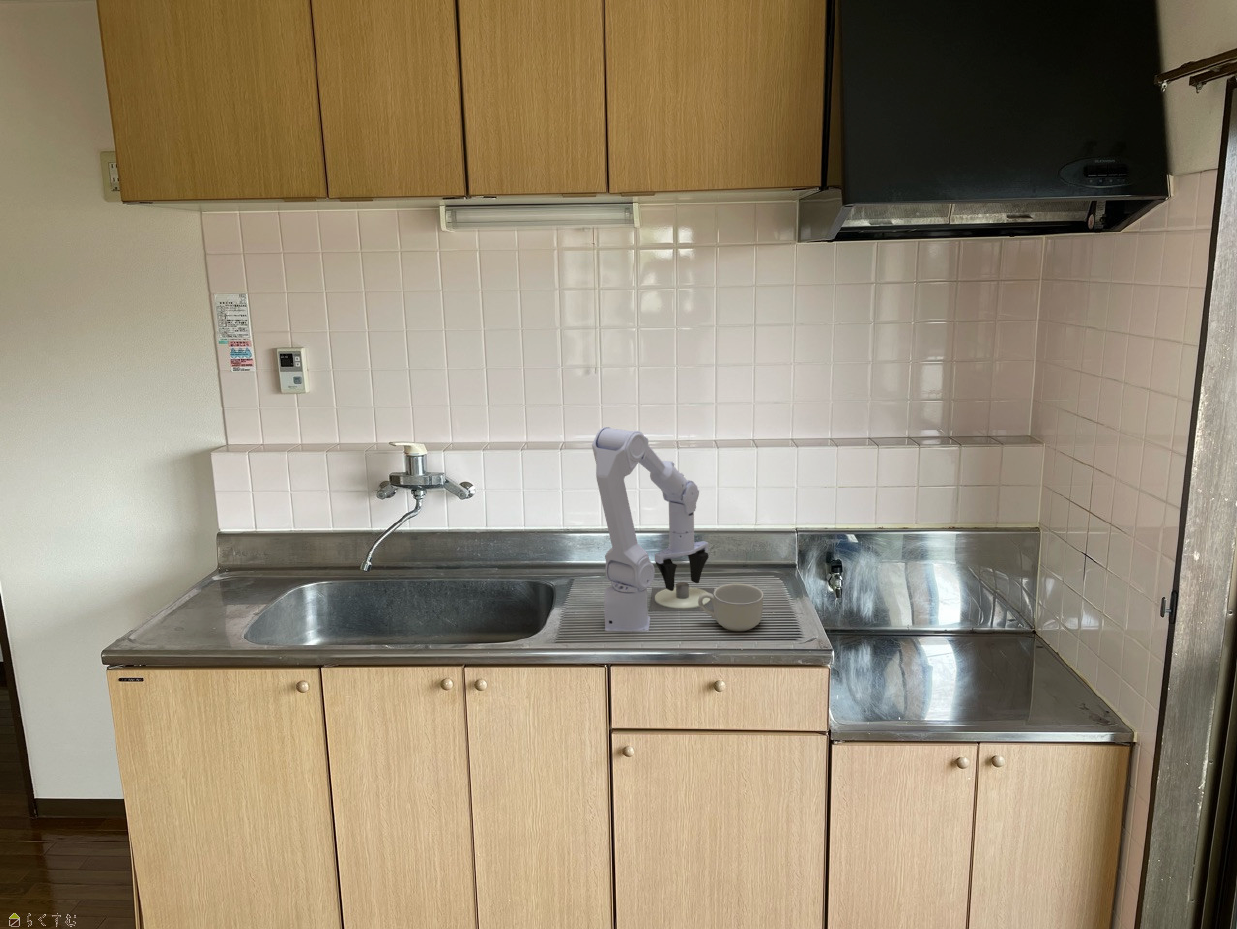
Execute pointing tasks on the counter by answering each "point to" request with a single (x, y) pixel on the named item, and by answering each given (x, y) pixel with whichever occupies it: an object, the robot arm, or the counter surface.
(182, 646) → the counter surface
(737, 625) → the teacup
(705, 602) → the lid
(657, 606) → the mat
